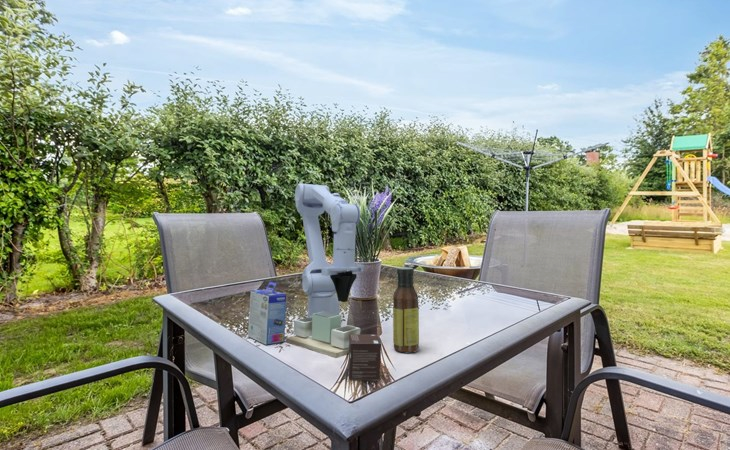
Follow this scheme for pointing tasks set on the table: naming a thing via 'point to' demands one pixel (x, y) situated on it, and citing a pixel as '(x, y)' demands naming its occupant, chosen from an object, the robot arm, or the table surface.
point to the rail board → (305, 340)
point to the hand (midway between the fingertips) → (342, 301)
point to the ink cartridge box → (267, 315)
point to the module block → (324, 325)
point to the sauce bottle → (405, 313)
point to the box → (364, 357)
